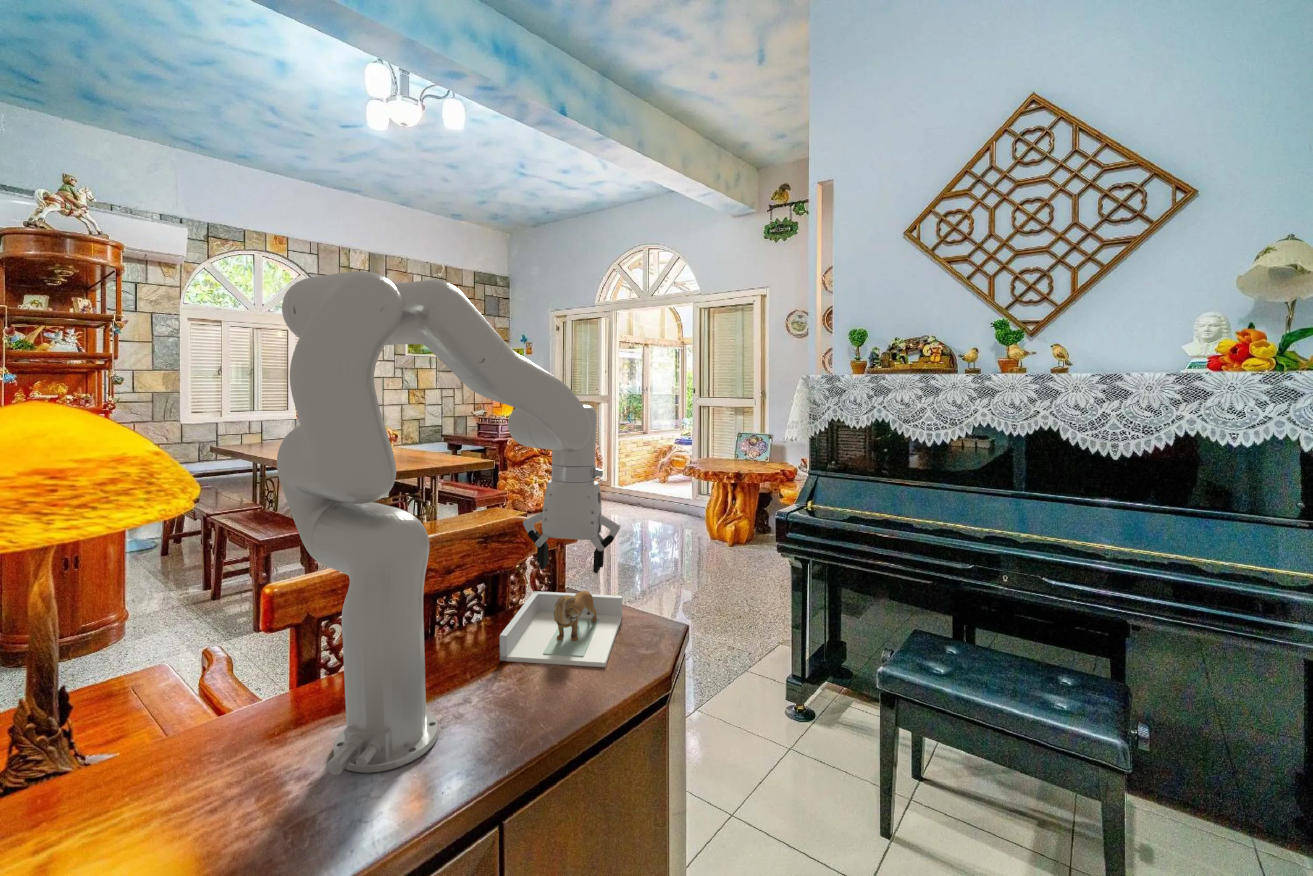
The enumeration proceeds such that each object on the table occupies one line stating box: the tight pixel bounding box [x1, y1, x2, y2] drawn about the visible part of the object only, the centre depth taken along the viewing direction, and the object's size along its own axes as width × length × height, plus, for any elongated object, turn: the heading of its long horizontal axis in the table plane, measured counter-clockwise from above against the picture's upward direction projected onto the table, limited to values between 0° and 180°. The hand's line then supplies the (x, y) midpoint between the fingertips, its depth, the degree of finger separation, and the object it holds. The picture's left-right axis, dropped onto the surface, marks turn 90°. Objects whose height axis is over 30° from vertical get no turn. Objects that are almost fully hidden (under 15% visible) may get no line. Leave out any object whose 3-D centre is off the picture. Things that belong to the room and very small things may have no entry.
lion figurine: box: [554, 590, 597, 641], centre depth 109 cm, size 15×5×9 cm, turn 169°
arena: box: [499, 590, 623, 668], centre depth 109 cm, size 20×18×4 cm
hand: (570, 569), depth 106 cm, fingers open, 9 cm apart
